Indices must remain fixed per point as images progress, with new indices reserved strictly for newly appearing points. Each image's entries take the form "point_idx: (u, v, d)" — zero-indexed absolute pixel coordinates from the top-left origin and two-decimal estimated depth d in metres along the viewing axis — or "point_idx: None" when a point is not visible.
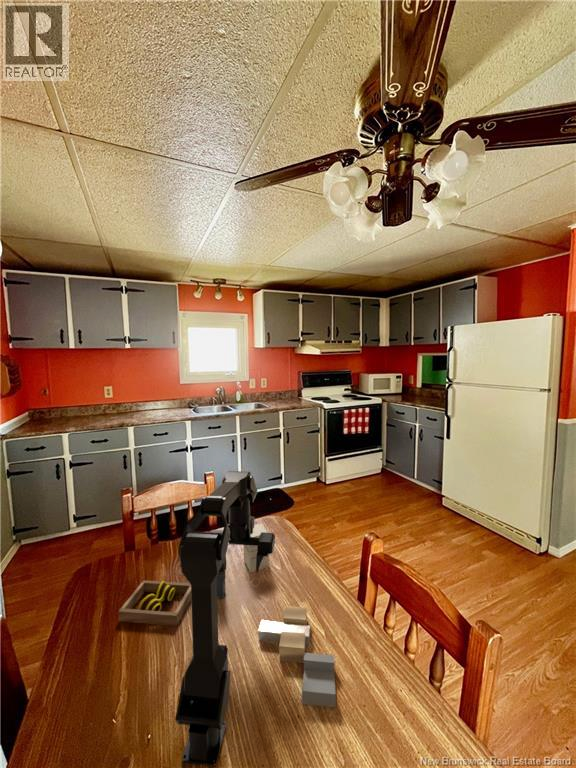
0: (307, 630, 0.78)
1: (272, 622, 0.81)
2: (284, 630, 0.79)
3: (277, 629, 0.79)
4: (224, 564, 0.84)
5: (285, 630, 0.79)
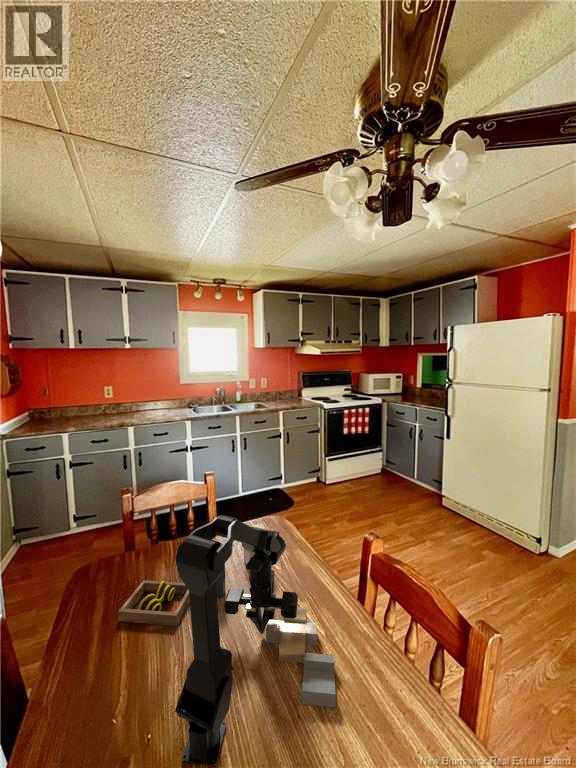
0: (314, 627, 0.79)
1: (279, 621, 0.81)
2: (291, 629, 0.79)
3: (284, 628, 0.79)
4: None
5: (292, 628, 0.79)
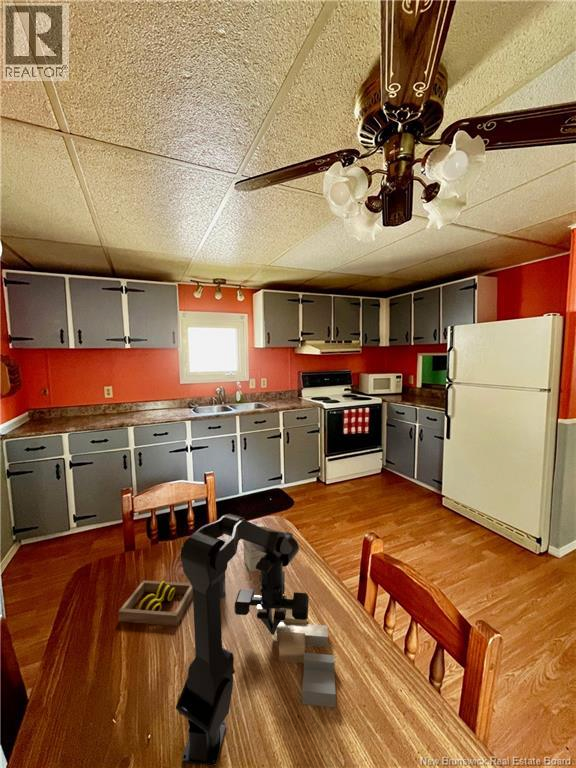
0: (325, 630, 0.78)
1: (289, 624, 0.81)
2: (302, 631, 0.78)
3: (295, 630, 0.78)
4: (272, 628, 0.79)
5: (303, 631, 0.78)
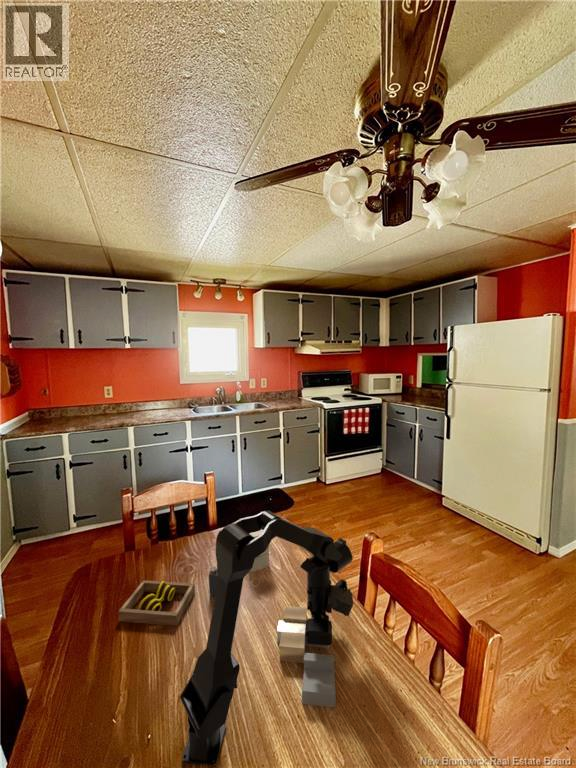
0: None
1: (290, 622, 0.81)
2: (302, 630, 0.78)
3: (295, 629, 0.78)
4: None
5: (303, 630, 0.78)
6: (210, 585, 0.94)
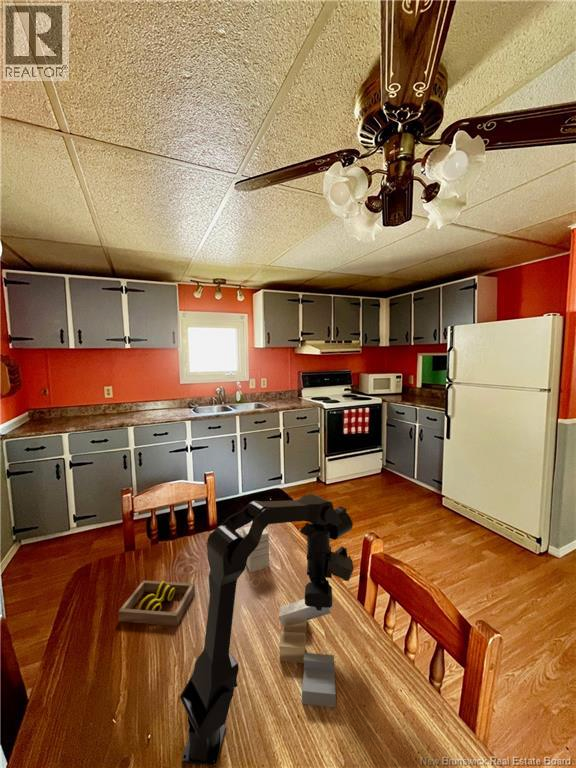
0: None
1: (290, 604, 0.80)
2: (302, 606, 0.78)
3: (295, 608, 0.78)
4: None
5: (303, 605, 0.78)
6: (210, 585, 0.94)
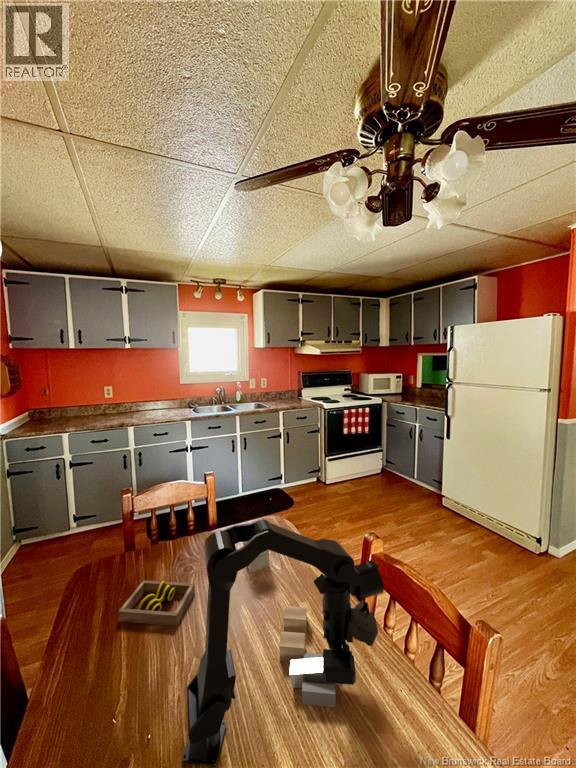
0: None
1: (303, 660, 0.69)
2: (319, 667, 0.67)
3: (310, 668, 0.67)
4: None
5: (320, 667, 0.67)
6: None
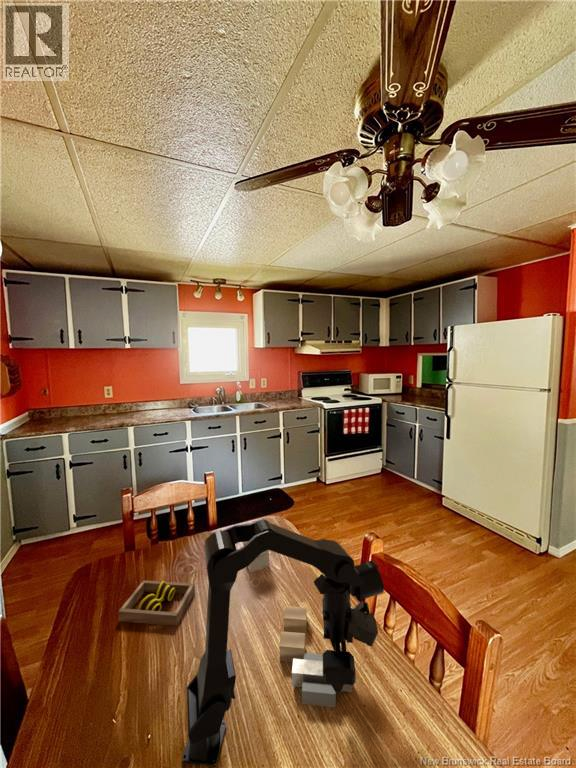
0: None
1: (306, 661, 0.69)
2: (322, 671, 0.67)
3: (313, 670, 0.67)
4: (332, 642, 0.72)
5: None
6: None
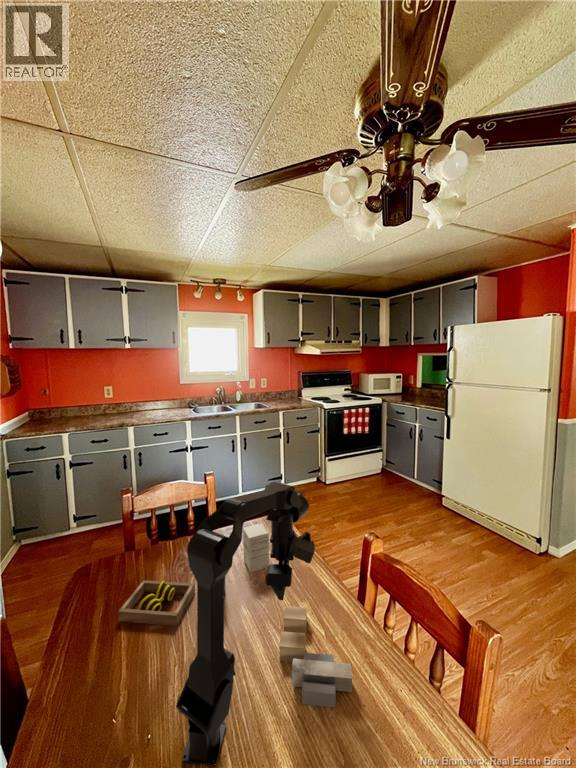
0: (349, 670, 0.67)
1: (306, 661, 0.69)
2: (322, 671, 0.67)
3: (313, 670, 0.67)
4: None
5: (323, 671, 0.67)
6: None
